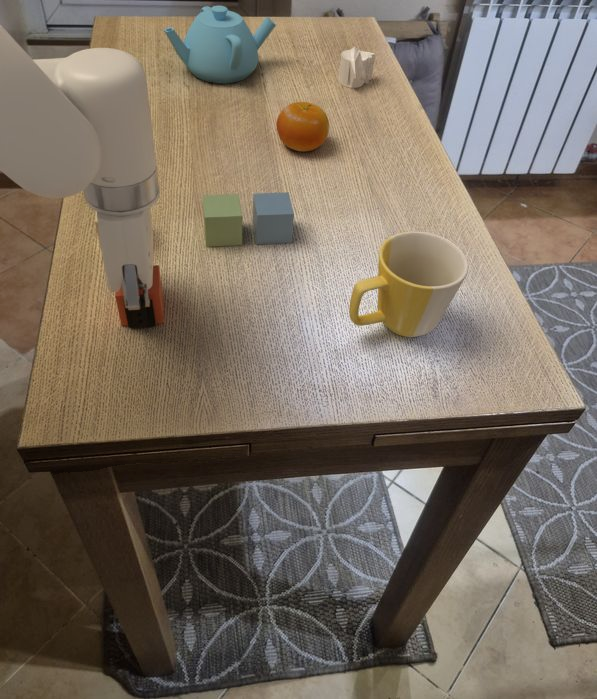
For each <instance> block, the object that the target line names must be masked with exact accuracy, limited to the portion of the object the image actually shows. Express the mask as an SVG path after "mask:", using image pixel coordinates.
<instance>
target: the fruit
mask: <svg viewBox="0 0 597 699" xmlns="http://www.w3.org/2000/svg"><path fill="white" fill-rule="evenodd" d="M275 124H276V131H277V135H278V137H279V139H280V141H281V142H282V143H283V144H284V145H285V146H286V147H288V148H289V149H291V150H293V151H297V152H310V151H314V150H316V149H318V148H319V147H320V146H322V145H323V144H324V143H325V141H326V140H327V139H328V136H329V132H330V122H329V118H328V116H327V113H326V112H325V110H323V108H321V107H320V106H318V105H317V104H314V103H311V102H308V101H307V102H306V101H296V102H292V103H290V104H287V105H286V106H285V107H283V108H282V110H281V111H280V113H279V114H278V116H277V119H276V123H275Z"/></svg>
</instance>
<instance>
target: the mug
mask: <svg viewBox="0 0 597 699" xmlns="http://www.w3.org/2000/svg"><path fill="white" fill-rule="evenodd" d="M377 267H378V268H377V270H378V271H377V272H378V276H373V277H369V278H365V279H361V280H358V281H356V283H355V284H354V286H353V289H352V291H351V296H350V301H349V308H348V315H349V319H350V321H351V322H352V324H354V325H355V326H357V327H362V326H368V325H374V324H378V323H383V325H384V326H385V327H386V328H388V330H390V331H391V332H393V333H394V334H396V335H398V336H401V337H406V338H415V337H421V336H425V335H427V334H429V333H431V332H432V331H434V329H436V327H438V324H439V323H440V321H441V319H442V318H443V316H444V314H445V313H446V311H447V310H448V308H449V306H450V304H451V303H452V301H453V300H454V298H455V296H456V295H457V293H458V292H459V290H460V288H461V286H462V285H463V283H464V281H465V280H466V277H467V275H468V272H469V268H470V267H469V261H468V258H467V256H466V254H465V253H464V251H463V250H462V249H461V248H460V247H459V246H458V245H457V244H455V243H454V242H452V241H451V240H450V239H447V238H445V237H443V236H441V235H438V234H435V233H433V232H427V231H412V230H411V231H410V230H409V231H404V232H399V233H396V234H394V235H391V236H390V237H388V238H387V239H385V240H384V241H383V243H382V244H381V246H380V248H379V251H378V266H377ZM374 290H377V308H376V310H377V311H374V312H370V313H365V314H361V315H359V311H360V305H361V302H362V298H363V296H364V295H365V294H366V293H368V292H369V291H374Z"/></svg>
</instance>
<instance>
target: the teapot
mask: <svg viewBox="0 0 597 699" xmlns="http://www.w3.org/2000/svg"><path fill="white" fill-rule="evenodd" d="M276 26H277V24H276V23H275V22H274V21H273V20H272V19H271V18H270V17H268V16H266V17H264V19H263V21H262V22H261V24H260V25H259V27H258V28H257V29H256V31H255V32H254V34H253V32H252V31H251V30H250V28H249V26H248V24H247V22H246V20H244V18H243V17H242V16H241V15H240V14H239V13H237V12H235V11H233V10H232V11H231V10H229V9H228V7H227V6H224V5H213V6H212V7H211V6H208V5H207V6H203V7H201V8H200V12H199V13H198V14H197V15H196V16H195V18H194V19H193V21H192V23H191V24H190V26H189V28H188V30H187V33H186V34H185V37H184V40H182V39H181V37H180V36H179V35H178V34H177V32H176V29H175V28H174V27H173V26H170V27H167V28H163V32H164V33H165V35H166V37H167V39H168V40H169V42H170V44H171V46H172V47H173V49H174V51H175V52H176V55H177V56H178V58H179V59H180V61H182V62H183V65H184V66H185V67H186V68H187V70H188V71H189V72H190V73H191V74H192V75H193V76H194V77H196V78H197V79H199V80H201V81H204V82H209V83H214V84H232V83H238V82H241V81H243V80H246V79H247V78H248V77H250V75H251V74H252V73H253V72H254V71H255V70H256V69H257V67H258V64H259V52H258V51H259V49H260V48H261V47H262V45H263V44H264V43H265V41H266V40H267V38H268V37H269V36H270V35H271V33H272V32H273V31H274V29H275V27H276Z"/></svg>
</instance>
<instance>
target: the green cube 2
mask: <svg viewBox="0 0 597 699" xmlns="http://www.w3.org/2000/svg"><path fill="white" fill-rule="evenodd" d="M201 199H202V213H203V214H202V215H203V229H204V238H205V240H204V241H205V247H207V248H212V247H231V246H243V214H242V213H243V211H242V205H241V200H240V199H241V198H240V194H239V193H232V194H231V193H230V194H229V193H227V194H203V195H202V198H201Z"/></svg>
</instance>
